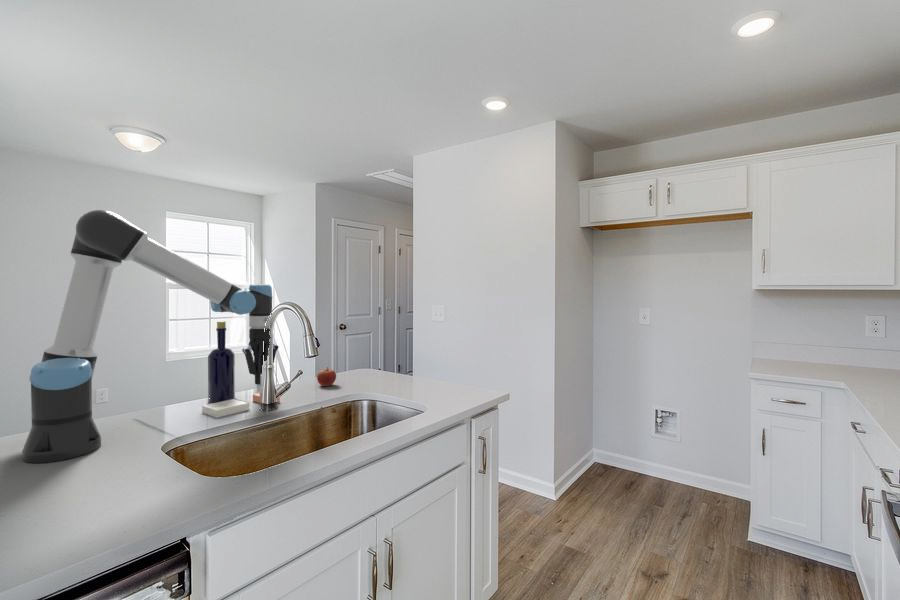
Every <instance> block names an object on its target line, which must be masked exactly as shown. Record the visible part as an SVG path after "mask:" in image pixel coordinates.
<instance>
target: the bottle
mask: <svg viewBox="0 0 900 600" xmlns="http://www.w3.org/2000/svg"><path fill="white" fill-rule="evenodd" d="M226 322H227V321H223V320H222V321H216V330H215V331H216V333H217V334H216V335H217V338H216V339H217V341H216V342H217V343H216V344H217V348H215V349H213V350H211V351H210V353H209V354H208V356H207V368H208V369H207V397H208V398H207V402H208V403H209V404H212V403H217V402H222V401H226V400H231V399H234V398H235V399H236V363H235V361H236V358H235V357H236V356H235V352H234V351H233V350H232V349H231V348H227V347H226V338H227V337H226V331H227V327H226V326H227V325H226V324H227V323H226ZM209 398H210V399H209Z"/></svg>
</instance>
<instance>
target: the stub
mask: <svg viewBox="0 0 900 600" xmlns="http://www.w3.org/2000/svg"><path fill="white" fill-rule="evenodd" d="M278 395H279V394H278ZM280 399H281V395H279V396H278V397H277V403H276V404H278V403H280V402H281V400H280ZM252 402H255V403H258V404H262V394H260V393H253V394H252ZM262 405H263V404H262Z"/></svg>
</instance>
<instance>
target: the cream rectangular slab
mask: <svg viewBox="0 0 900 600" xmlns="http://www.w3.org/2000/svg"><path fill="white" fill-rule="evenodd" d="M201 409H202V410H201V412H202V414H204V415H207V416H210V417H214V418H220V417H224V416H225V417H226V416H229V415H234V414H237V413H241V412H246V411H248V410H250V402H249V401H244V400H241V399H239V398H238V399H237V398H236V397H235V398H234V399H231V400H226V401H222V402H217V403H209V404H204V405H202V406H201Z"/></svg>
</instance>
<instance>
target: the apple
mask: <svg viewBox="0 0 900 600" xmlns="http://www.w3.org/2000/svg"><path fill="white" fill-rule="evenodd" d="M336 379H337V373H336V372H335V370H333V369H331V368H330V369H329V367H326V368H325V369H321V370H319V371H318V373H317V376H316V380H317V382H318V383H317V384H319V385H320V386H322V387H326V386H327V387H330V386H333V385H334V383H335V381H336Z"/></svg>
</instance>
